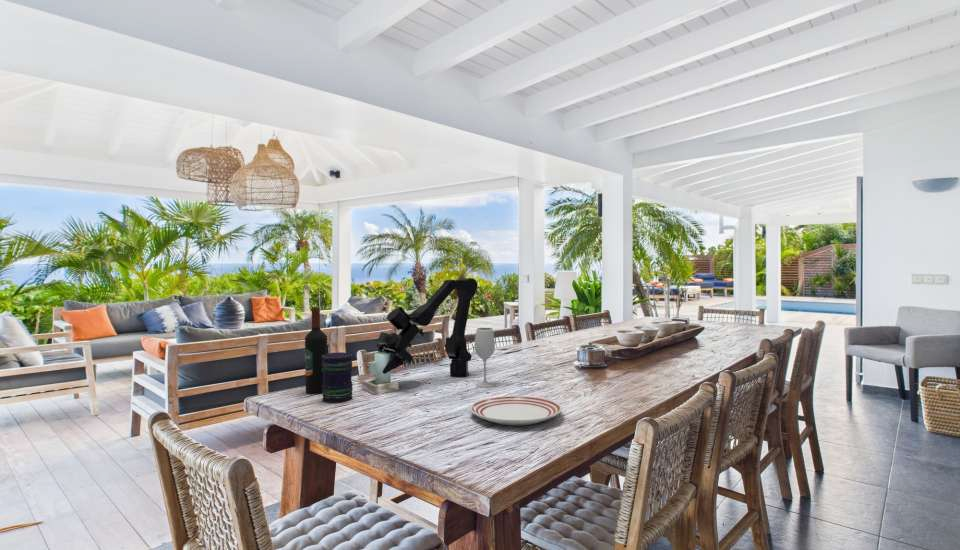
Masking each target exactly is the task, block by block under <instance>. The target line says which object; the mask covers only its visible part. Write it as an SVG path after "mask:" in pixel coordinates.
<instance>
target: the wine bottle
mask: <svg viewBox="0 0 960 550" xmlns="http://www.w3.org/2000/svg"><path fill="white" fill-rule="evenodd" d="M324 354H328V337H327V334H326V333H325V332H323V331H322V329H321V307H320V306H311V329H310V331H309V332H308V333H307V334H306V335H305V336H304V361H305V362H304V365H305V367H304V370H305V371H304V373H305V393H306V394H307V395H320V394H322V384H323V373H322V360H323V359H322V355H324ZM322 395H323V394H322Z"/></svg>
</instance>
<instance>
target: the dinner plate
mask: <svg viewBox="0 0 960 550" xmlns="http://www.w3.org/2000/svg"><path fill="white" fill-rule="evenodd" d="M562 410H563V407H562V406H561V404H559V402H556V401H554V400H550V399H548V398H544V397H538V396H529V395H502V396H501V395H499V396H493V397H487V398H483V399H480V400H477V401H473V403H471V404H470V406H469V411H470V413H472V414H474V416H477V417H478V418H479V419H480V418H481V419H483V420H487V421H488V422H491V423H494V424H498V425H504V426H529V425H533V424H534V425H535V424H539V423H541V422H543V421H547V420H550V419H552V418H555V416H557V415H559V414H560V413H561V412H562Z"/></svg>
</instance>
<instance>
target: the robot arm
mask: <svg viewBox="0 0 960 550" xmlns="http://www.w3.org/2000/svg"><path fill="white" fill-rule="evenodd" d="M478 286H479V285H478V282H477V280H476V279H475V278H473V277H461V278H459V279H458V280H457V279H448V278H447V279H445V280H444V281H443V282H442V285H440V286H439V288H438V289H437V290H436V291H435V292H434V293H433V294H432V295H431V297H430V298H429V299H428V300H427V301H426V302H425V303H423V304H422V305H420V306H418V307H417V308H416V309H414V310H413V311H412V312H411V313H407V312H406V310H404V308H403V307H402V306H397V308H394V309H393V310H391V312H389V313H388V314H387V316H386V320H387V321H388V322H389V323H390V324H391V325H392V326H393V327H394V328H395V329H396V330H397V331H400V332H399V333H396V332H390V333H387V332H383V331H381V332H380V334H379V336H378V339H377V341H379V342H378V343H376V345H375V346H374V348H375V349H376V350H377V353H378V352H389V353H390V360H389V362H388V363H387V365H386V366H385V368H384V370H383V373H384V374H385V373H387V372H389V371H392V370H395V369H396V368H399V367H401V366H403V365H405V364H407V365H411V363H412V362H414V356H413V355H412V354H411V353H410V352H409V351H408V350H407V349H408V348H411V347H412V346H413V345H412V342H413V341H414V340H415V339H416V337H417V336H420V337H424V329H423V328H420V327H418V326H422V327H427V326H429V325H430V324H431V322H432V320H433V318H434V317H435V313H436V311H437V310H438V309H439V307H440V306H441V305H442V304H443V303H444V301H445V300H446V299H447V298H448V297H449V296H450V294H452V293H453V291H454V290H455V291H456V294H457V298H458V299H457V304H456V305H457V306H456V311H455V312H456V313H455V316H454V321H453V322H454V323H453V326H452V327H453V328H452V332H451V335H450V336H449V337H446V339H445V344H444V346H443V347H444V348H445V349H444V350H445V353H446V354H447V356H448V359H449V360H450V361H451V362H450V364H449V374H450V375H449V376H450V377H460V378H461V377H463V378H466V377H468V376H469V374H470V372H469V362H471V360H472V358H473V357H472V354H471V353H470V352H469V351H468V349H467V340H466V337H465V335H466V328H467V322H468V318H469V317H468V316H469V311H470V306H471V301H472V299H473V298H474V297H475V295H476V292H477V289H478ZM382 342H383V343H382Z"/></svg>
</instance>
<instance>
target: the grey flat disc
mask: <svg viewBox="0 0 960 550" xmlns="http://www.w3.org/2000/svg"><path fill="white" fill-rule="evenodd" d="M397 382H398V389H399V388H410V389H416V388H419V387H421V386H422V385H421V384H422V382H421V381H419V380H413V379H412V380H410V379H409V380H407V379H406V380H398V381H397ZM420 385H421V386H420ZM418 386H419V387H418ZM415 387H416V388H415Z"/></svg>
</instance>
